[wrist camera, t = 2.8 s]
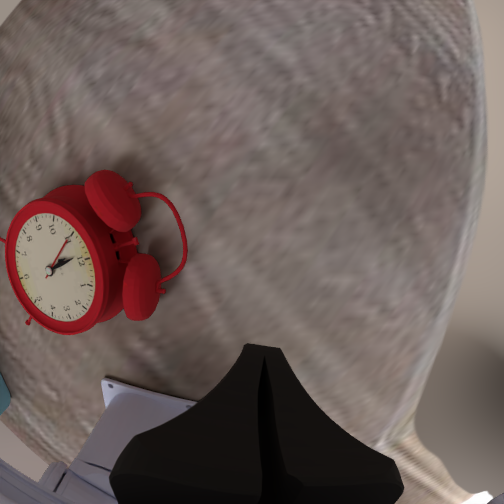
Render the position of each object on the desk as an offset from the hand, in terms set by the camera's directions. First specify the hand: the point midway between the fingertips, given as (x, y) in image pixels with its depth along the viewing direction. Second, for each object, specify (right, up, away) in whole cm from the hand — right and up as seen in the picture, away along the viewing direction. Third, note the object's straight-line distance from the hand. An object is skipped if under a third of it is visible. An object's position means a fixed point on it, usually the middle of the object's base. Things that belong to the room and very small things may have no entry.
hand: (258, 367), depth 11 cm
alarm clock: (-11, +4, +9) cm, 15 cm away
